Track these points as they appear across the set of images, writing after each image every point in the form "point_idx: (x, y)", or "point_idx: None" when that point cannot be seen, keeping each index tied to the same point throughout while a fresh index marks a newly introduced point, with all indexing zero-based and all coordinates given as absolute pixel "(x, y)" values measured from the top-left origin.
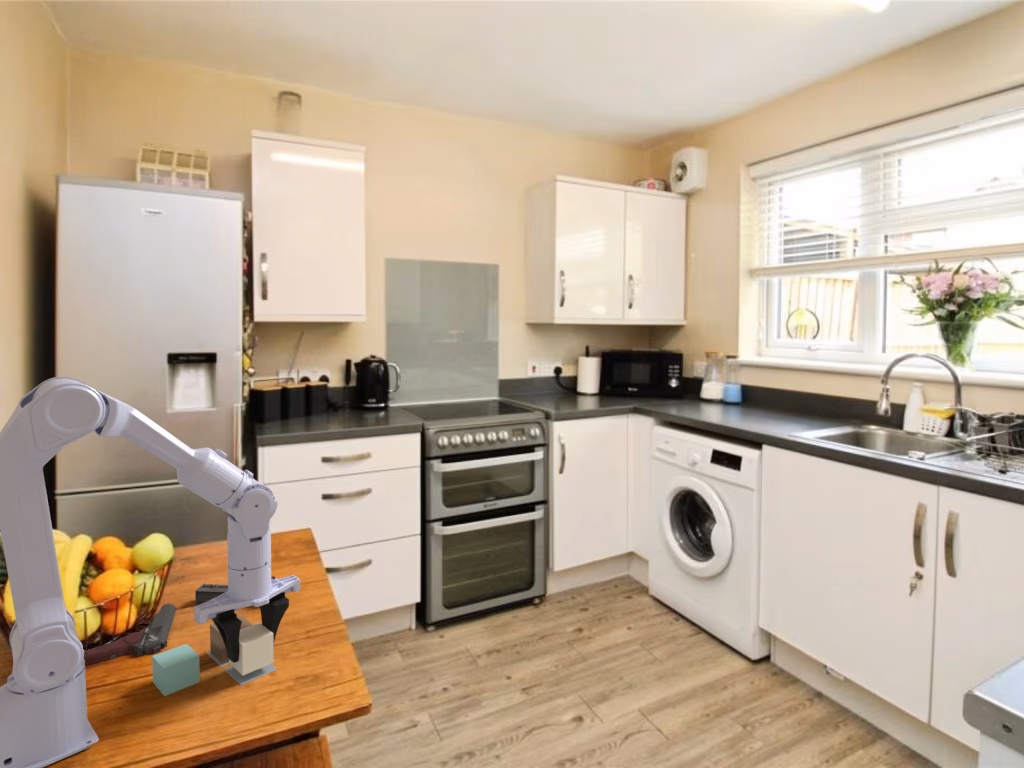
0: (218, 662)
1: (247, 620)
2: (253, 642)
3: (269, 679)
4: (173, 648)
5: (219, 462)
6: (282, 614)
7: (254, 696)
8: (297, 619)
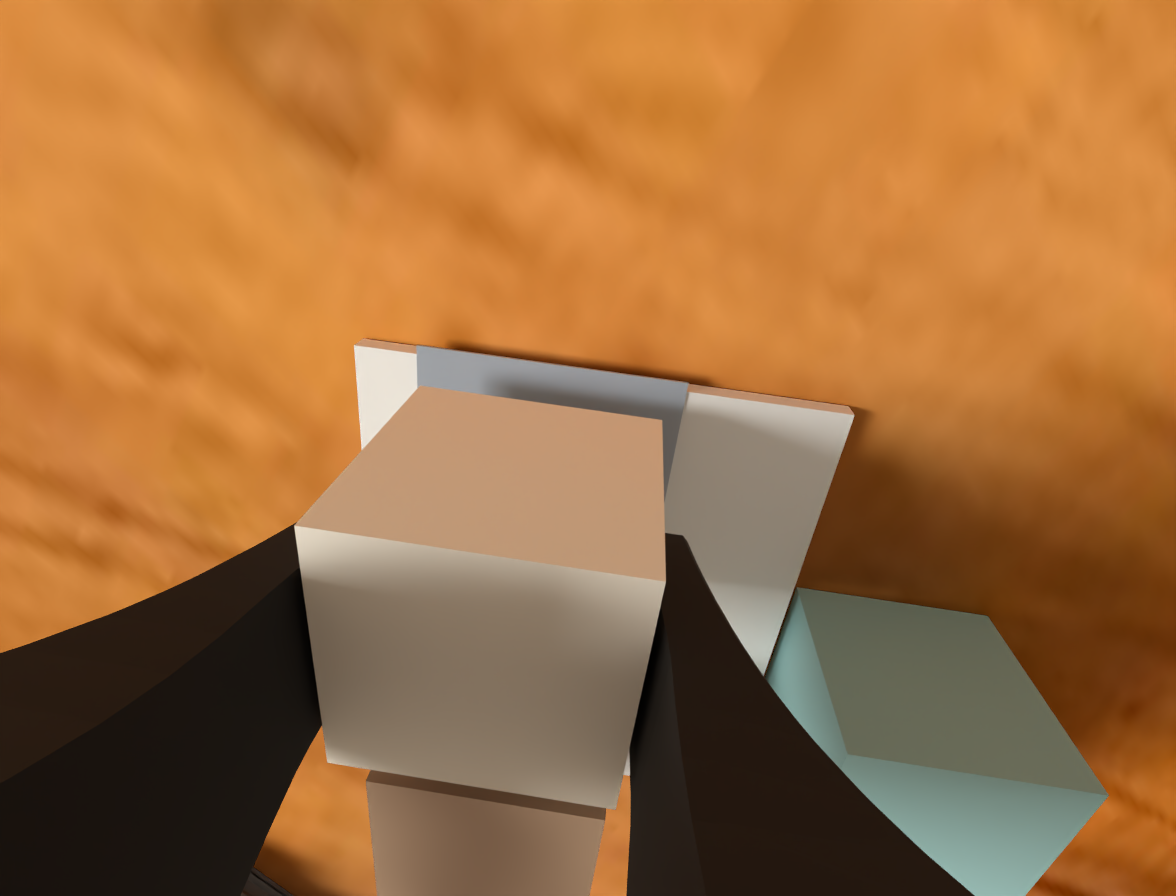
0: None
1: (371, 834)
2: (536, 551)
3: (504, 313)
4: None
5: None
6: (9, 663)
7: (687, 214)
8: None
